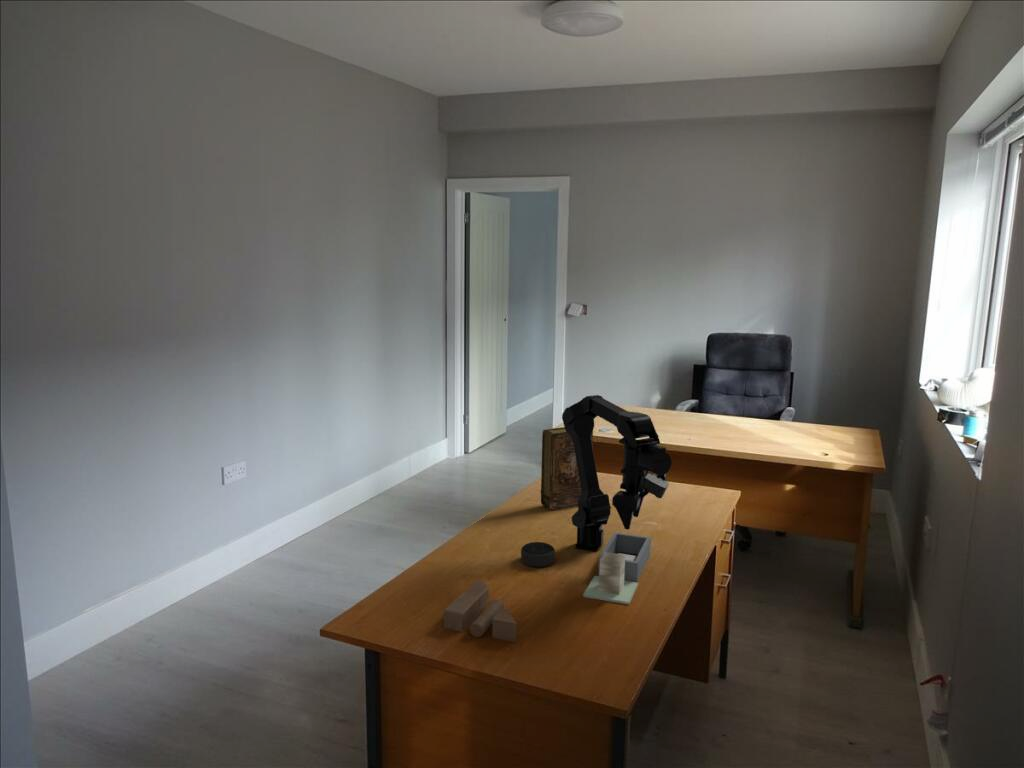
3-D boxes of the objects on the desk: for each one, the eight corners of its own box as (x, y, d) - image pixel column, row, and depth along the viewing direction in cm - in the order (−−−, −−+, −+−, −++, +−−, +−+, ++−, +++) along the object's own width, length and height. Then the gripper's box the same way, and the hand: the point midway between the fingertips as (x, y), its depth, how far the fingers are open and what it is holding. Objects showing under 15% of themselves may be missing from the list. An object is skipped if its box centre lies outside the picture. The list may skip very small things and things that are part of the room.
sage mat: (583, 596, 182) (583, 594, 182) (594, 578, 192) (594, 575, 192) (628, 604, 178) (629, 602, 178) (638, 585, 188) (638, 582, 188)
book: (584, 498, 251) (586, 424, 246) (593, 503, 246) (595, 428, 241) (540, 505, 243) (542, 429, 239) (549, 511, 239) (550, 433, 234)
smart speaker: (514, 561, 201) (514, 547, 201) (536, 552, 208) (536, 538, 207) (539, 572, 195) (539, 557, 195) (561, 561, 202) (561, 547, 201)
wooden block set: (441, 607, 165) (475, 574, 181) (441, 632, 166) (475, 596, 182) (514, 622, 159) (542, 586, 175) (514, 647, 160) (542, 609, 176)
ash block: (598, 590, 183) (599, 559, 182) (603, 582, 188) (605, 551, 187) (619, 594, 182) (620, 562, 180) (623, 585, 186) (625, 554, 185)
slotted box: (597, 575, 193) (598, 557, 192) (613, 549, 210) (614, 532, 209) (637, 582, 190) (638, 563, 189) (650, 554, 206) (651, 537, 205)
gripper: (659, 479, 180) (655, 541, 183) (674, 458, 197) (670, 515, 200) (613, 473, 184) (610, 533, 187) (631, 452, 201) (628, 509, 204)
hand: (631, 522), depth 195 cm, fingers open, 9 cm apart
